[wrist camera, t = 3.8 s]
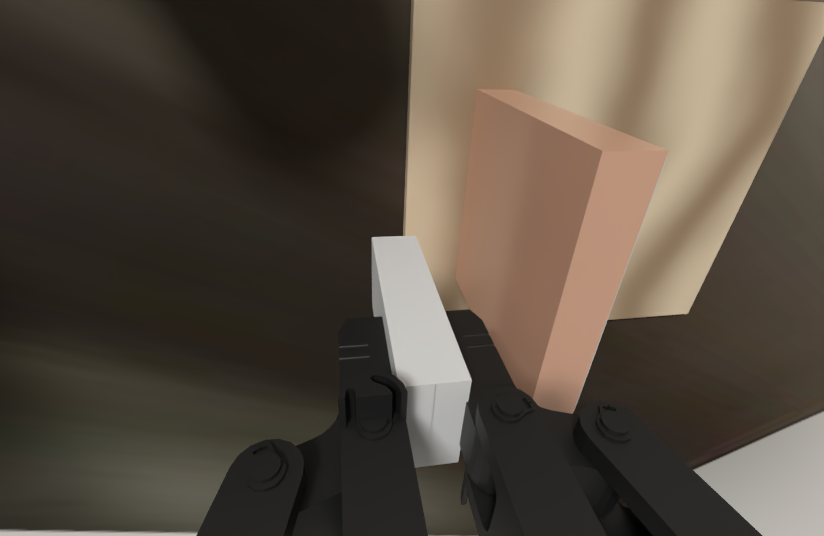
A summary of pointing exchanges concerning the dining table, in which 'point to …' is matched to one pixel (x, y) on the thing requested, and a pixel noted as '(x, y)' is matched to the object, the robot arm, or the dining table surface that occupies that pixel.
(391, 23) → the dining table surface
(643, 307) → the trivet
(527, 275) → the tile
